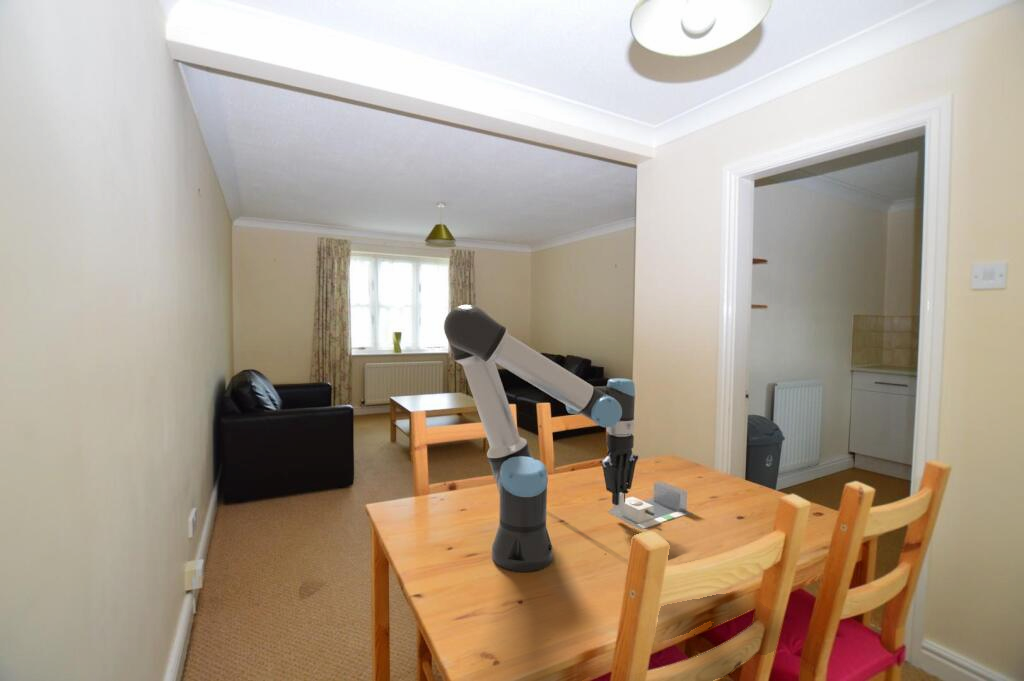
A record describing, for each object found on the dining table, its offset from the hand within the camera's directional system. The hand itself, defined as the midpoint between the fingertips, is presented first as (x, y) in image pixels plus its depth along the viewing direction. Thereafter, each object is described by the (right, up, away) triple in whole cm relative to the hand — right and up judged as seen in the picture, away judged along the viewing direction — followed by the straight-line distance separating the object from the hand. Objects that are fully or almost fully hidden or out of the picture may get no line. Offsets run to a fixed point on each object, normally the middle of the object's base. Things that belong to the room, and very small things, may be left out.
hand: (618, 514), depth 133 cm
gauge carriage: (+7, -2, +3) cm, 8 cm away
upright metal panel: (+19, -2, +12) cm, 22 cm away
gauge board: (+11, -3, +7) cm, 14 cm away
